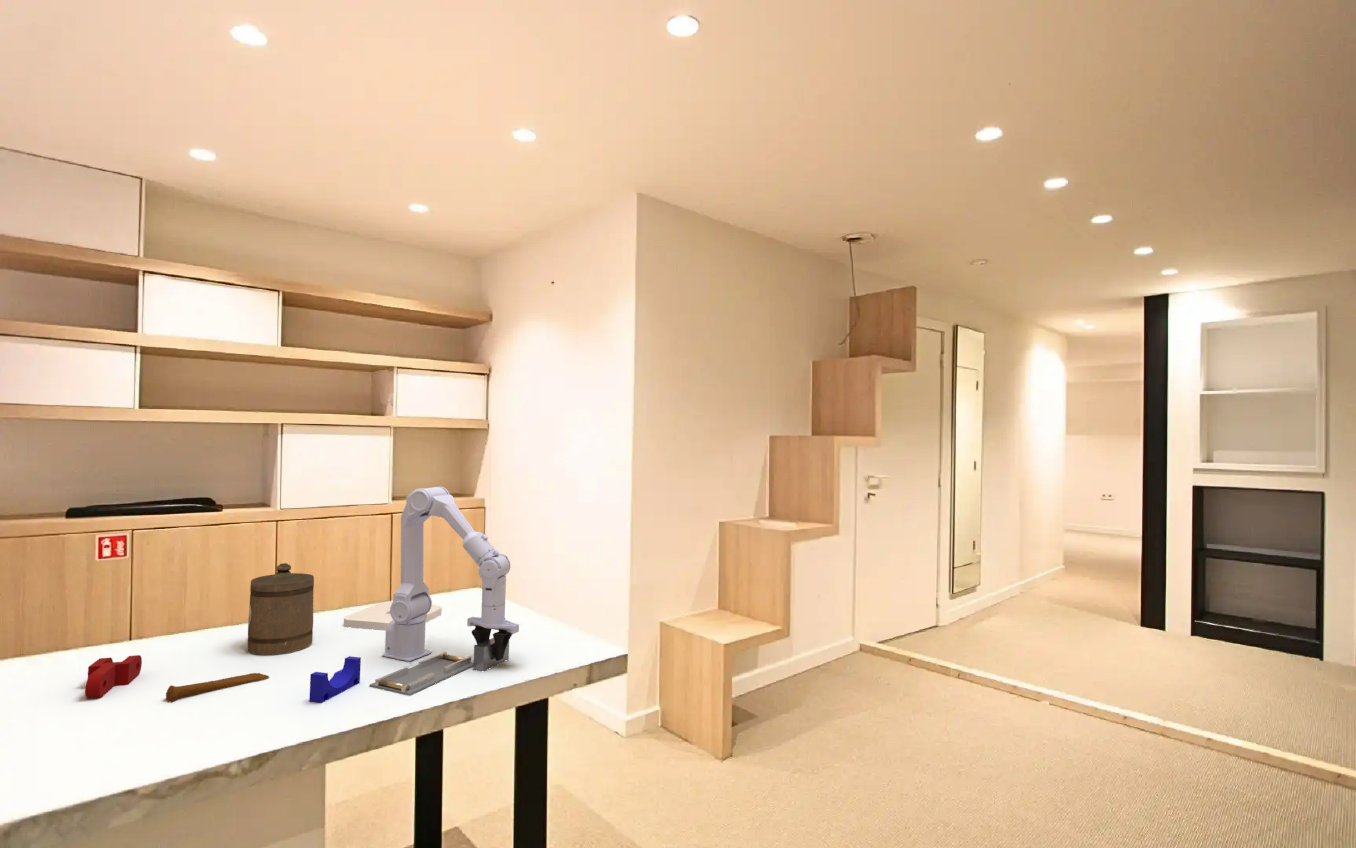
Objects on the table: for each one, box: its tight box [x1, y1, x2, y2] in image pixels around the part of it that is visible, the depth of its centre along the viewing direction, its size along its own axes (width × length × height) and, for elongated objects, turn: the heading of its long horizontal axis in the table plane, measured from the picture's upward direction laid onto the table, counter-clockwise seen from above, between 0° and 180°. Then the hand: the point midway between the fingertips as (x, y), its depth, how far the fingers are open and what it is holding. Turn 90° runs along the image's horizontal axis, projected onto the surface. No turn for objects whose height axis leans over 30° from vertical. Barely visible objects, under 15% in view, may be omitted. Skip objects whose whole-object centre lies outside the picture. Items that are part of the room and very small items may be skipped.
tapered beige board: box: [343, 601, 443, 632], centre depth 202 cm, size 22×22×3 cm
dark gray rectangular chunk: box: [472, 637, 510, 672], centre depth 165 cm, size 3×10×6 cm, turn 157°
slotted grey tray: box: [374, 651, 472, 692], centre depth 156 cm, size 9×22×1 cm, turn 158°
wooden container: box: [247, 563, 315, 656], centre depth 174 cm, size 15×15×22 cm
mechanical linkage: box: [84, 654, 143, 700], centre depth 144 cm, size 16×7×5 cm, turn 23°
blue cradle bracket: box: [309, 655, 362, 704], centre depth 145 cm, size 12×4×6 cm, turn 169°
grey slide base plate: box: [369, 659, 474, 696], centre depth 156 cm, size 12×22×1 cm, turn 158°
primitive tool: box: [165, 672, 270, 703], centre depth 145 cm, size 19×6×4 cm, turn 149°
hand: (491, 658), depth 165 cm, fingers open, 4 cm apart
